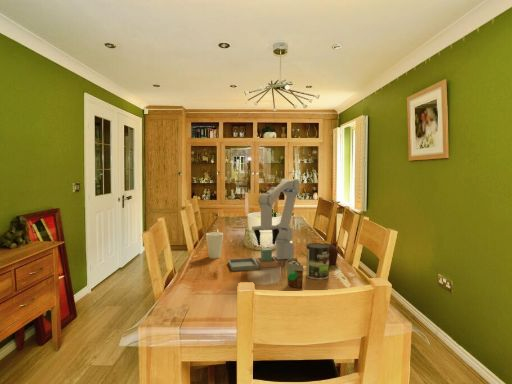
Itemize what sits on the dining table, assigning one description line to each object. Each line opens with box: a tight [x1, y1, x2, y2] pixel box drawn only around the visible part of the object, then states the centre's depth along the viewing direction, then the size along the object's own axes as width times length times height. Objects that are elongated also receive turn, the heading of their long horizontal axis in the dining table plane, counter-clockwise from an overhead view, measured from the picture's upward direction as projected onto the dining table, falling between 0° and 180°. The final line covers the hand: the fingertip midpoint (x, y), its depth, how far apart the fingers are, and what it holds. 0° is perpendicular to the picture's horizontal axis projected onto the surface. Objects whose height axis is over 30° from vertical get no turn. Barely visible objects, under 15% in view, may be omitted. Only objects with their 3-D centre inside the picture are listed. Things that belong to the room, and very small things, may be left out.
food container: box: [284, 257, 304, 290], centre depth 140 cm, size 12×6×10 cm, turn 5°
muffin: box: [325, 243, 339, 267], centre depth 172 cm, size 12×11×10 cm
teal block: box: [260, 247, 273, 262], centre depth 170 cm, size 4×4×8 cm
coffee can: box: [305, 242, 330, 281], centre depth 152 cm, size 10×10×14 cm
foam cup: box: [205, 231, 224, 259], centre depth 185 cm, size 10×9×13 cm
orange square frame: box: [255, 256, 279, 269], centre depth 171 cm, size 9×9×2 cm
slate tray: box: [227, 257, 260, 272], centre depth 168 cm, size 13×14×2 cm
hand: (266, 244), depth 170 cm, fingers open, 7 cm apart
